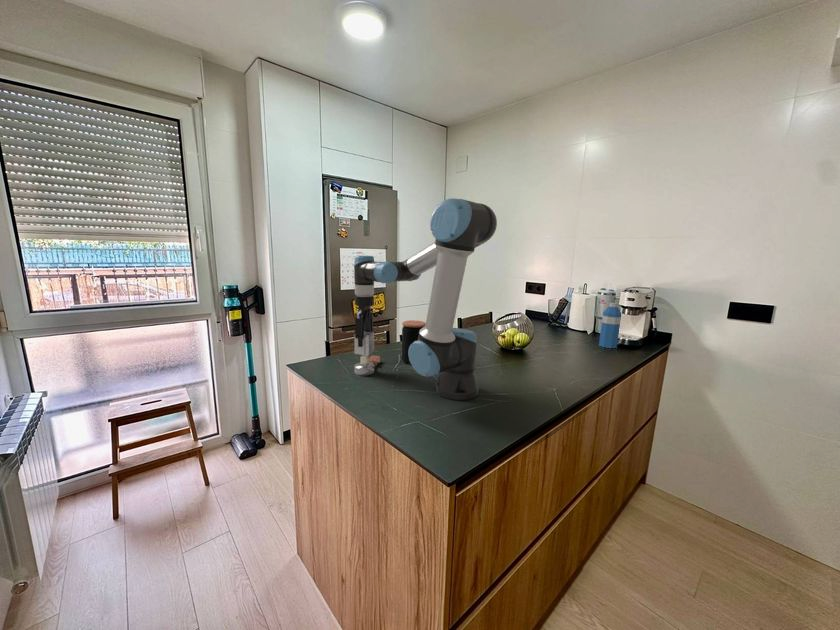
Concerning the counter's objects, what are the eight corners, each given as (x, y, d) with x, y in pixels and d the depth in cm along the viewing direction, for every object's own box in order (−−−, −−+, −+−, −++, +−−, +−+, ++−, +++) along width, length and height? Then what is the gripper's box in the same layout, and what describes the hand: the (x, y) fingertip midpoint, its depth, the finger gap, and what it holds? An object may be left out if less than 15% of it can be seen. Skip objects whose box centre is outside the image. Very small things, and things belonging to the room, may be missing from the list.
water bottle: (601, 348, 181) (607, 303, 176) (595, 344, 190) (601, 301, 185) (620, 350, 180) (626, 304, 175) (613, 345, 189) (619, 302, 184)
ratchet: (370, 376, 131) (370, 359, 130) (351, 374, 133) (351, 358, 132) (384, 362, 149) (384, 347, 147) (367, 360, 150) (367, 345, 149)
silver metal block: (373, 350, 137) (374, 332, 135) (368, 355, 131) (368, 335, 129) (360, 349, 138) (360, 330, 136) (354, 353, 132) (354, 334, 131)
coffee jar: (429, 360, 153) (430, 322, 150) (416, 366, 144) (417, 326, 141) (410, 356, 159) (410, 319, 156) (396, 361, 150) (397, 323, 147)
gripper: (364, 292, 140) (364, 344, 144) (345, 297, 122) (345, 358, 126) (381, 293, 138) (380, 346, 143) (364, 299, 120) (364, 359, 124)
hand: (364, 351), depth 134 cm, fingers closed on silver metal block, 6 cm apart
